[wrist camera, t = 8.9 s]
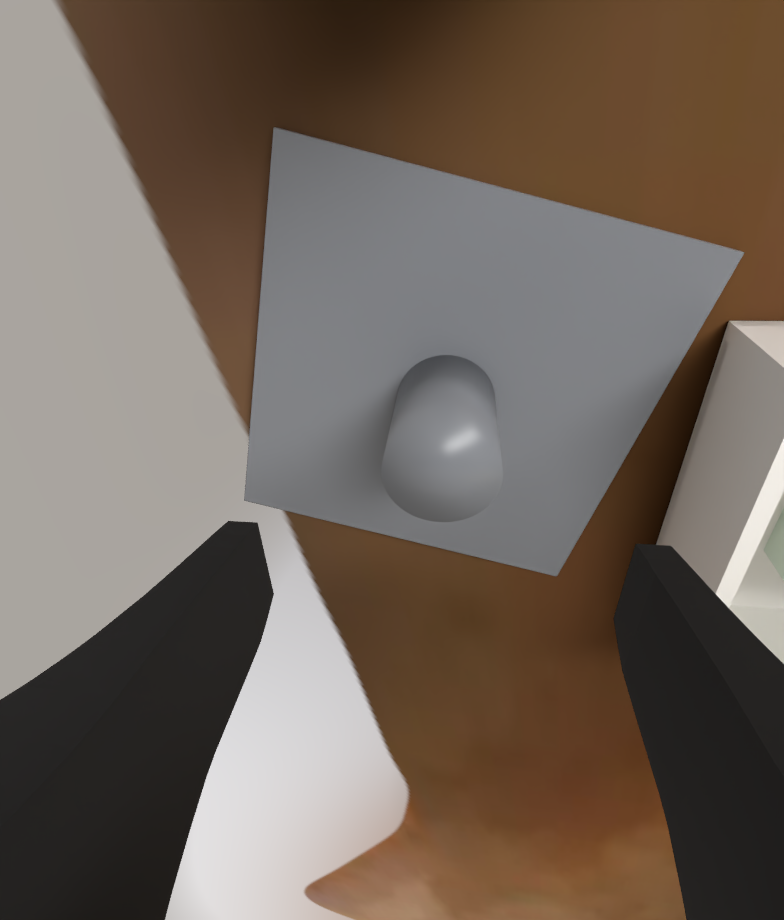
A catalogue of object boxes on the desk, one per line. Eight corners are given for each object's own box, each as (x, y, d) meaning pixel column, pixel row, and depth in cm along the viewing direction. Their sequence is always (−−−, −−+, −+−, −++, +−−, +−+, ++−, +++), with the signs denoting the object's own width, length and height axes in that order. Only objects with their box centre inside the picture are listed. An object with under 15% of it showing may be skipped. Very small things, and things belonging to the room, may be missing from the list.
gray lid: (731, 245, 14) (836, 303, 10) (553, 561, 21) (574, 670, 17) (282, 126, 14) (208, 137, 10) (251, 487, 20) (200, 580, 16)
